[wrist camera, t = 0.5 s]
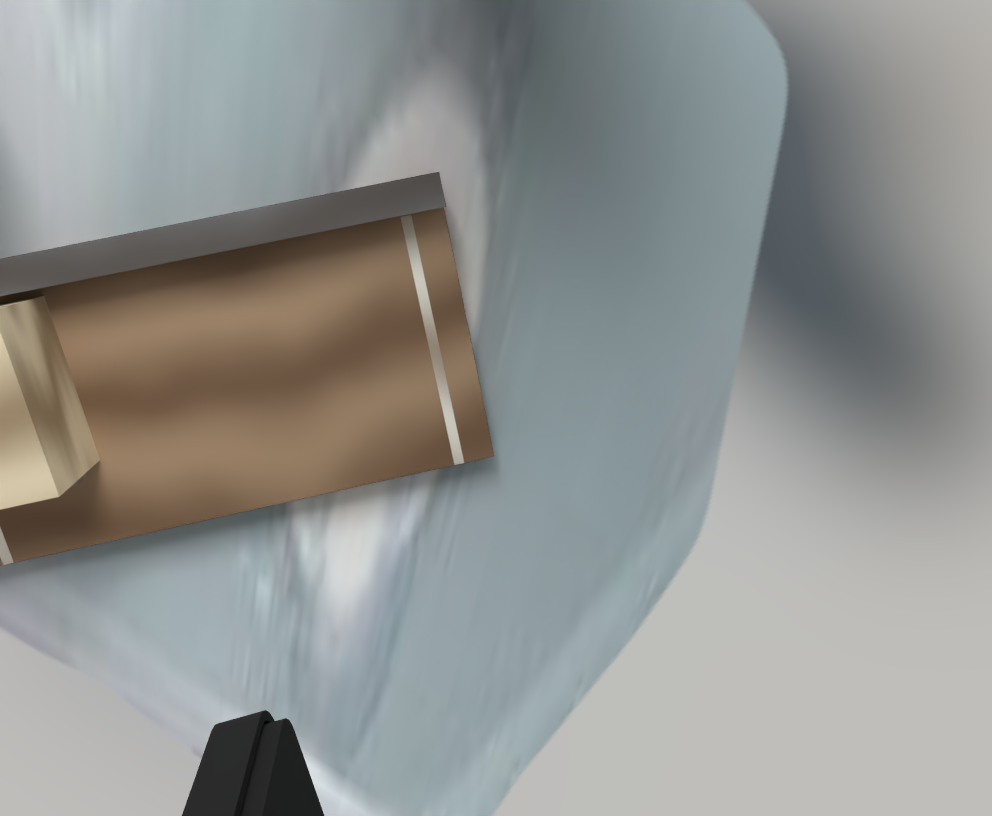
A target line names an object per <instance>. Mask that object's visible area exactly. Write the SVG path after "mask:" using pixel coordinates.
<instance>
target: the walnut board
mask: <svg viewBox="0 0 992 816" xmlns="http://www.w3.org/2000/svg"><path fill="white" fill-rule="evenodd" d="M444 207H446V204H445V199H444V195H443V190H442V185H441V180H440V175H439V172H436V173H431V174H426V175H421V176H416V177H411V178H406V179H401V180H396V181H391V182H386V183H381V184H376V185H371V186H366V187H361V188H355V189H350V190H345V191H340V192H335V193H330V194H325V195H320V196H315V197H310V198H305V199H300V200H295V201H290V202H285V203H280V204H275V205H270V206H265V207H260V208H255V209H250V210H245V211H240V212H234V213H229V214H224V215H219V216H214V217H209V218H204V219H199V220H194V221H189V222H184V223H179V224H174V225H169V226H164V227H159V228H154V229H149V230H144V231H139V232H134V233H129V234H124V235H119V236H114V237H108V238H103V239H98V240H93V241H88V242H83V243H78V244H73V245H68V246H63V247H58V248H53V249H48V250H43V251H38V252H33V253H28V254H23V255H18V256H13V257H8V258H3V259H0V304H5V303H10V302H15V301H20V300H25V299H30V298H35V297H40V296H44V297H45V300H46V302H47V305H48V308H49V311H50V314H51V317H52V320H53V323H54V326H55V329H56V332H57V335H58V338H59V341H60V344H61V347H62V350H63V353H64V355H65V358H66V361H67V364H68V367H69V370H70V373H71V376H72V379H73V382H74V385H75V388H76V391H77V394H78V397H79V400H80V403H81V406H82V409H83V411H84V414H85V417H86V420H87V423H88V426H89V429H90V432H91V435H92V438H93V441H94V444H95V447H96V450H97V453H98V456H99V459H100V461H98V462H97V463H96V464H95V465H94V466H93V467H92V468H91V469H90V470H88V471H87V472H86V475H87V477H86V478H85V479H84V480H83V481H82V482H81V483H80V484H79V485H78V486H73V487H70V488H69V489H67V490H66V491H65V492H64V493H63V494H62V495H61V496H60V497H56V498H51V499H47V500H42V501H38V502H33V503H28V504H24V505H19V506H15V507H10V508H5V509H1V510H0V566H1V565H6V564H11V563H15V562H19V561H24V560H28V559H33V558H37V557H42V556H46V555H51V554H55V553H60V552H64V551H69V550H73V549H78V548H82V547H87V546H91V545H96V544H100V543H105V542H109V541H114V540H118V539H123V538H127V537H132V536H137V535H141V534H146V533H150V532H155V531H159V530H164V529H168V528H173V527H177V526H182V525H186V524H191V523H195V522H200V521H204V520H209V519H213V518H218V517H222V516H227V515H231V514H236V513H240V512H245V511H249V510H254V509H258V508H263V507H267V506H272V505H276V504H281V503H285V502H290V501H294V500H299V499H304V498H308V497H313V496H317V495H322V494H326V493H331V492H335V491H340V490H344V489H349V488H353V487H358V486H362V485H367V484H371V483H376V482H380V481H385V480H389V479H394V478H398V477H403V476H407V475H412V474H416V473H421V472H425V471H430V470H434V469H439V468H443V467H448V466H452V465H458V464H462V463H466V462H471V461H475V460H480V459H484V458H489V457H493V456H494V452H493V447H492V442H491V438H490V433H489V428H488V423H487V418H486V413H485V408H484V403H483V398H482V393H481V388H480V383H479V379H478V374H477V369H476V364H475V359H474V354H473V349H472V344H471V339H470V334H469V329H468V324H467V320H466V315H465V310H464V305H463V300H462V295H461V290H460V285H459V280H458V275H457V270H456V265H455V260H454V256H453V251H452V246H451V241H450V236H449V231H448V226H447V221H446V216H445V211H444Z"/></svg>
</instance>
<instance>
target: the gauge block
mask: <svg viewBox="0 0 992 816" xmlns="http://www.w3.org/2000/svg"><path fill="white" fill-rule="evenodd" d="M98 461H100V459H99V456H98V453H97V450H96V447H95V444H94V441H93V438H92V435H91V432H90V429H89V426H88V423H87V420H86V417H85V414H84V411H83V409H82V406H81V403H80V400H79V397H78V394H77V391H76V388H75V385H74V382H73V379H72V376H71V373H70V370H69V367H68V364H67V361H66V358H65V355H64V353H63V350H62V347H61V344H60V341H59V338H58V335H57V332H56V329H55V326H54V323H53V320H52V317H51V314H50V311H49V308H48V305H47V302H46V300H45V297H44V296H40V297H35V298H30V299H25V300H20V301H15V302H10V303H5V304H0V510H1V509H5V508H10V507H15V506H19V505H24V504H28V503H33V502H38V501H42V500H47V499H51V498H56V497H60V496H61V495H62V494H63V493H64V492H65V491H66V490H67V489H69V488H70V487H73V486H78V485H79V484H80V483H81V482H82V481H83V480H84V479H85V478H86V477H87V475H86V472H87V471H88V470H90V469H91V468H92V467H93V466H94V465H95V464H96V463H97V462H98Z"/></svg>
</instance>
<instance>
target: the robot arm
mask: <svg viewBox="0 0 992 816" xmlns="http://www.w3.org/2000/svg"><path fill="white" fill-rule="evenodd" d="M182 816H324V814H323V811H322V808H321V805H320V802H319V799H318V796H317V794H316V791H315V788H314V785H313V782H312V779H311V777H310V774H309V771H308V768H307V765H306V762H305V759H304V757H303V754H302V751H301V748H300V745H299V742H298V740H297V737H296V734H295V731H294V729H293V726H292V724H291V722H290V721H289V720H288V719H286V718H285V719H282V720H278V721H274V719H273V717H272V716H271V714H270V713H269V712H268V711H266V710H265V711H261V712H258V713H254V714H251V715H247V716H243V717H240V718H236V719H233V720H229V721H225V722H222V723H218V724H216V725H215V726H214V728H213V729H212V731H211V734H210V737H209V740H208V743H207V746H206V748H205V751H204V754H203V757H202V760H201V763H200V766H199V769H198V771H197V774H196V777H195V780H194V783H193V786H192V789H191V791H190V794H189V797H188V800H187V803H186V806H185V809H184V811H183V814H182Z"/></svg>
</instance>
